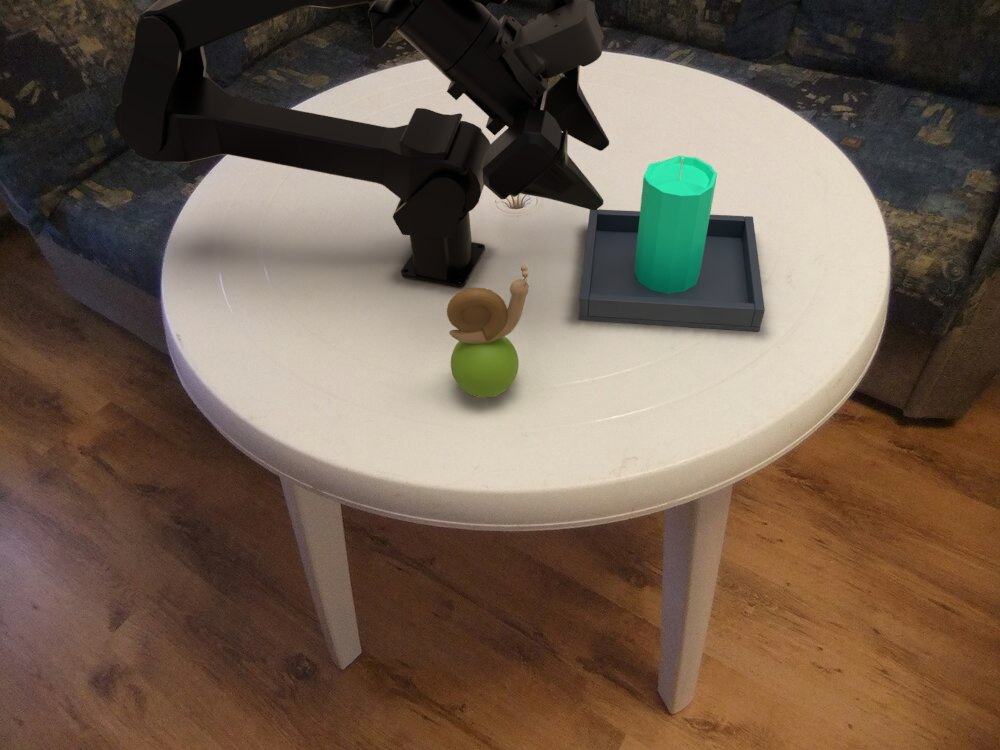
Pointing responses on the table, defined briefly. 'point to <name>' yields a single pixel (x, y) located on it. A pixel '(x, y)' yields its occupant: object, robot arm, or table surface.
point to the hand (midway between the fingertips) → (602, 175)
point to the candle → (673, 223)
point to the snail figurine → (485, 338)
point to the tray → (709, 304)
